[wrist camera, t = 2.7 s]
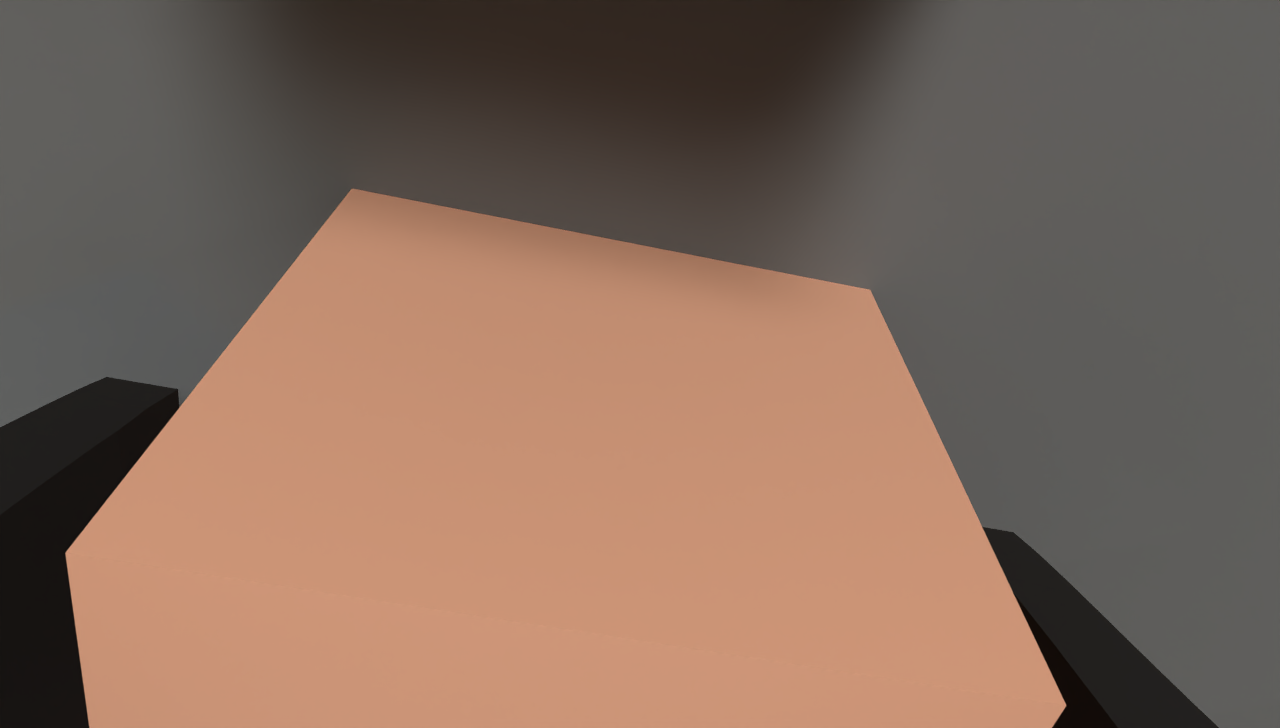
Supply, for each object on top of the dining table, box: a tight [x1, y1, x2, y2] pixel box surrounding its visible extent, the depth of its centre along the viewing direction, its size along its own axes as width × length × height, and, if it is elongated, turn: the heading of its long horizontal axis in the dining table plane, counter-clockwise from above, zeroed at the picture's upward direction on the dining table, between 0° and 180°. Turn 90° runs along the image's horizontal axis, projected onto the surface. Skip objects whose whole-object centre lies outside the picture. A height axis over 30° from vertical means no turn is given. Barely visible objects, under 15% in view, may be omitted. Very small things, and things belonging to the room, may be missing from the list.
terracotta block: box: [65, 189, 1066, 728], centre depth 8 cm, size 5×5×5 cm
